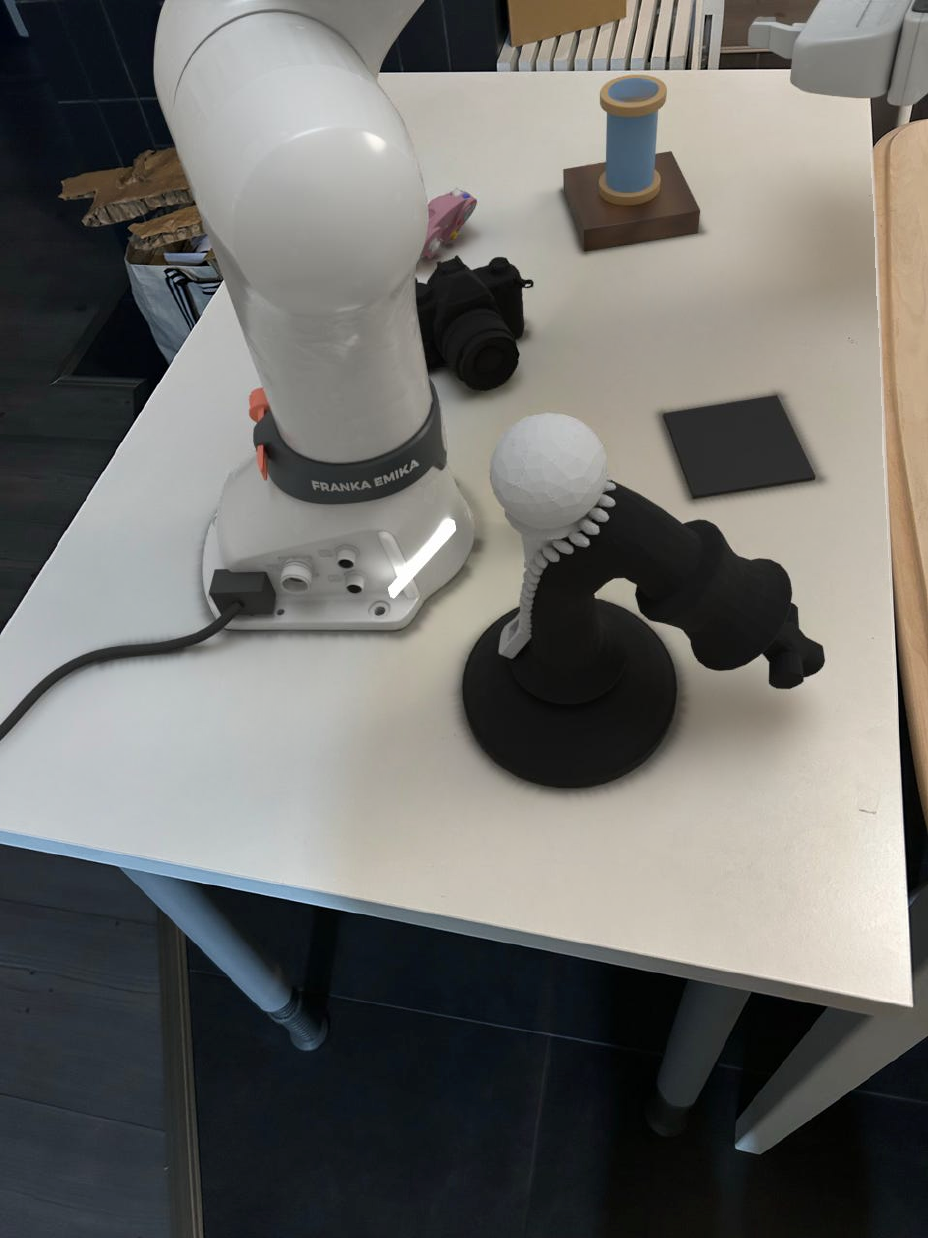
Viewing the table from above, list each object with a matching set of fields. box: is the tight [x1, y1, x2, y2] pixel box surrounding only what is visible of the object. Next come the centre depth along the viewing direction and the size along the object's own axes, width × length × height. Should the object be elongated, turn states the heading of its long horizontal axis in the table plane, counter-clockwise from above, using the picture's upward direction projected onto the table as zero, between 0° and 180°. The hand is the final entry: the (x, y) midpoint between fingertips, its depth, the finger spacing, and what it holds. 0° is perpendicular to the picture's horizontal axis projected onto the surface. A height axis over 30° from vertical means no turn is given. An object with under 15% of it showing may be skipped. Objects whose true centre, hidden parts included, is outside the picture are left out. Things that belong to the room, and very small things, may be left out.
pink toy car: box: [419, 186, 478, 260], centre depth 97 cm, size 10×5×7 cm, turn 143°
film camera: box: [415, 254, 535, 392], centre depth 84 cm, size 15×10×9 cm, turn 112°
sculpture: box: [461, 412, 826, 789], centre depth 55 cm, size 15×24×25 cm, turn 82°
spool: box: [599, 74, 668, 206], centre depth 93 cm, size 6×6×10 cm
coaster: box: [662, 394, 817, 500], centre depth 77 cm, size 10×10×1 cm
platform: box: [562, 150, 701, 252], centre depth 98 cm, size 12×12×2 cm
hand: (767, 5), depth 78 cm, fingers open, 8 cm apart
